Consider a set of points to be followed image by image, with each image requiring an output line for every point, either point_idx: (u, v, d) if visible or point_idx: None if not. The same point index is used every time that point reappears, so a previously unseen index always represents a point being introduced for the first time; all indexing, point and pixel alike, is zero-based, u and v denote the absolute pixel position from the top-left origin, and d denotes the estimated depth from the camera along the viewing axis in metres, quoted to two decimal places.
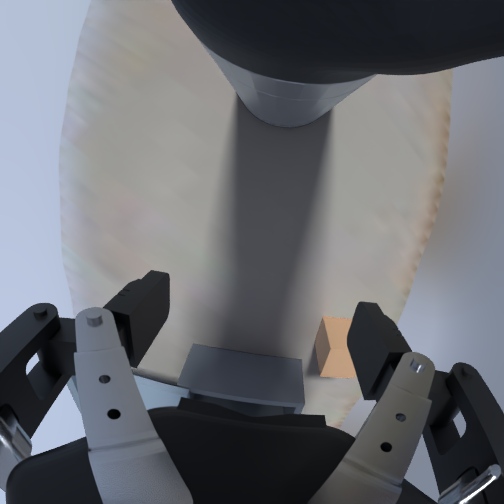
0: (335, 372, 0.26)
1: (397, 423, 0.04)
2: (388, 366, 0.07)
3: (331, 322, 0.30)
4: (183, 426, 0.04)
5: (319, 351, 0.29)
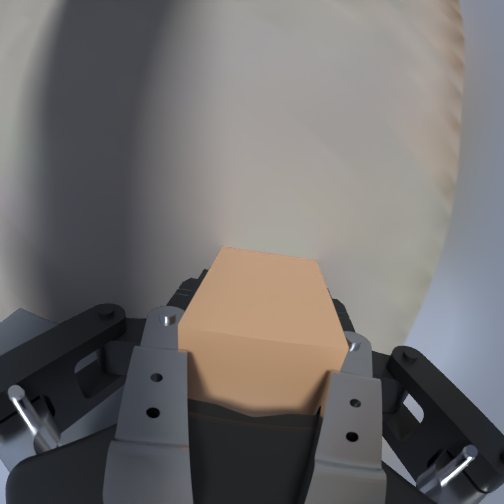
0: None
1: (353, 410, 0.05)
2: None
3: (239, 259, 0.11)
4: None
5: None
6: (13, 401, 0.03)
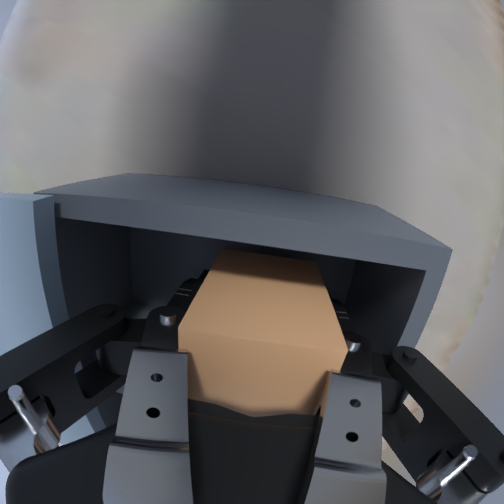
0: None
1: (353, 410, 0.05)
2: None
3: (239, 260, 0.11)
4: None
5: None
6: (13, 401, 0.03)
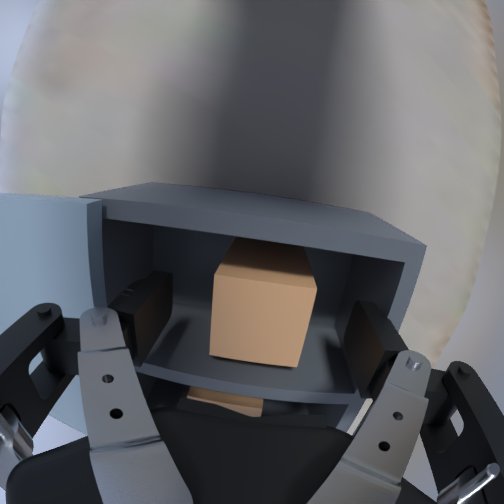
0: (244, 347, 0.12)
1: (394, 422, 0.04)
2: (384, 364, 0.07)
3: (248, 244, 0.15)
4: (183, 426, 0.04)
5: None
6: None
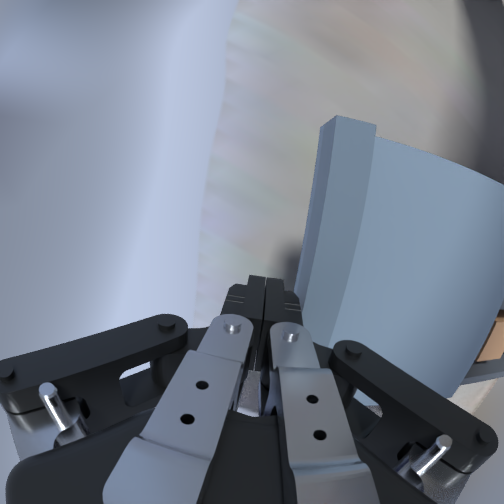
0: None
1: (312, 406, 0.05)
2: (268, 335, 0.09)
3: None
4: None
5: None
6: (42, 398, 0.04)
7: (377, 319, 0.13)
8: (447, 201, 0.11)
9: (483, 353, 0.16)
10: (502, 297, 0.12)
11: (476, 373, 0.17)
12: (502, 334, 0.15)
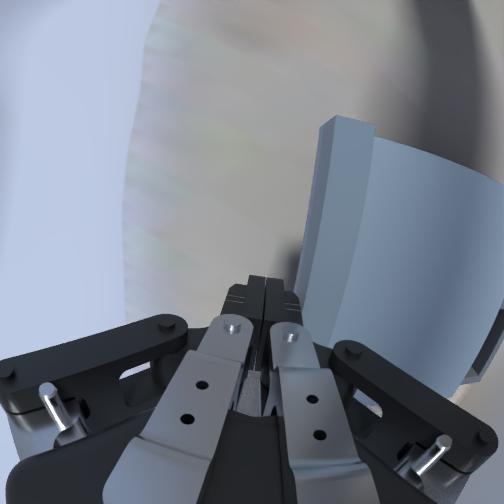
0: None
1: (312, 406, 0.05)
2: (268, 335, 0.09)
3: None
4: None
5: None
6: (42, 398, 0.04)
7: (377, 318, 0.13)
8: (446, 201, 0.11)
9: None
10: (502, 297, 0.12)
11: None
12: None
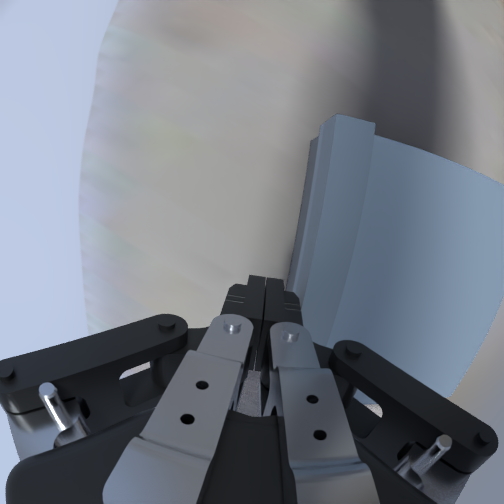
0: None
1: (312, 406, 0.05)
2: (268, 335, 0.09)
3: None
4: None
5: None
6: (42, 398, 0.04)
7: (376, 317, 0.14)
8: (446, 200, 0.11)
9: None
10: (501, 296, 0.12)
11: None
12: None
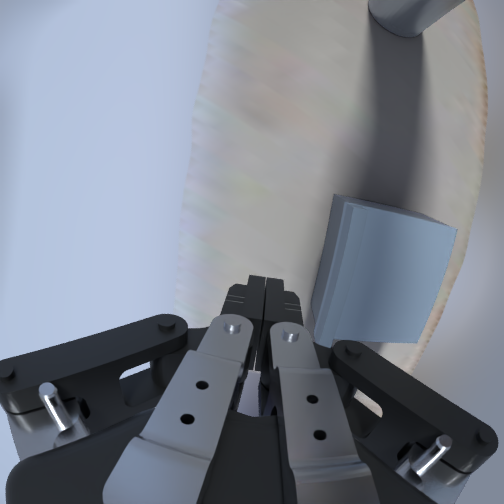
0: None
1: (312, 406, 0.05)
2: (268, 335, 0.09)
3: None
4: None
5: None
6: (42, 398, 0.04)
7: (368, 289, 0.29)
8: (401, 234, 0.27)
9: None
10: (440, 282, 0.28)
11: None
12: None
